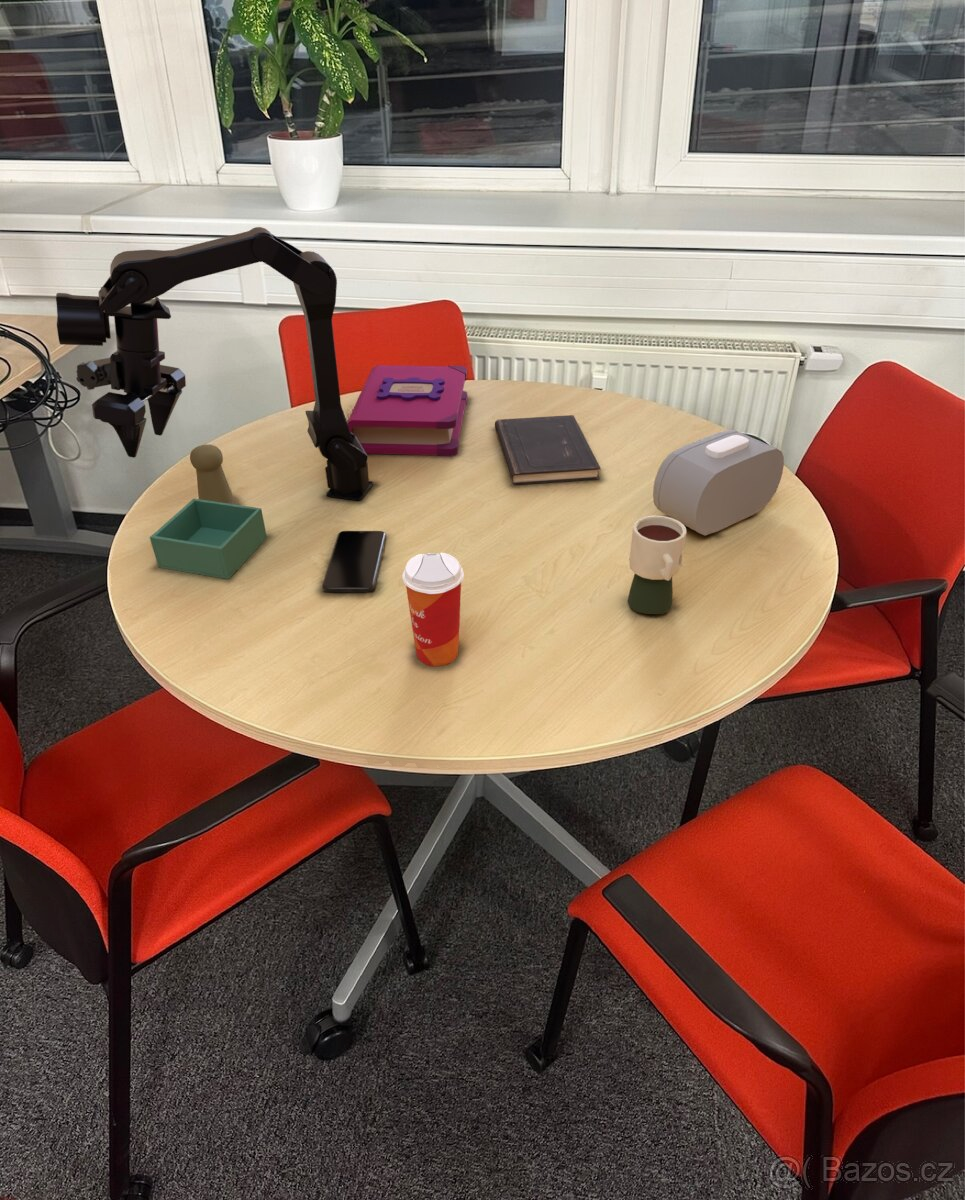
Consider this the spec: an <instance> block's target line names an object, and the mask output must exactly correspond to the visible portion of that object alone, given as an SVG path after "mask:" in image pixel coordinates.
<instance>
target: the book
mask: <svg viewBox="0 0 965 1200" xmlns="http://www.w3.org/2000/svg"><path fill="white" fill-rule="evenodd" d="M467 377H468V367H467V366H464V365H444V366H443V365H391V364H389V365H387V364H385V365H384V364H383V365H381V364H377V365H375V366H373V367H372V369H371V370H370V372H369V374H368V375H367V378H366V381H365V382H364V385H363V387H362V389H361V391H360V393H359V395H358V398H357V400H356V401H355V404H354V405H353V409H352V411H351V412H350V415H349V417H348V419H347V423H348V426H349V429H350V432H351V433H352V434H354V435H355V436H356V437H357V439H358V441H359V442H360V444H361V446H362V447H363V449H364V451H365V452H366V454H367V455H369V454H371V455H372V454H373V455H411V456H413V455H414V456H415V455H416V456H417V455H419V456H420V455H421V456H437V457H453V456H456V455H458V452H459V447H460V446H459V441H460V437H461V430H462V426H463V421H464V416H465V410H466V406H467V405H468V400H469V399H468V392H467V391H465V390H464V388H465V383H466V381H467Z"/></svg>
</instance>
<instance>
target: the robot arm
mask: <svg viewBox="0 0 965 1200" xmlns="http://www.w3.org/2000/svg"><path fill="white" fill-rule="evenodd" d="M257 263H264V264H265V265H267V266H269V267H271V268H272V269H273V270H274V271H276V272H278V273H279V274H280V275H282V276H284V278H286V279H288V280H289V281H290V282H292V283H293V286H294V290H295V292H296V296H297V299H298V301H299V304H300V307H301V311H302V313H303V315H304V321H305V330H306V337H307V344H308V353H309V361H310V368H311V369H310V370H311V377H312V383H313V384H312V385H313V392H314V405H313V410H305V411H304V413H305V415H306V418H307V421H308V428H307V430H306V431H307V434H308V436H309V438H310V440H311V442H312V443H313V446H314V448H316V449H318V450H319V452H320V455H321V456H322V457H324V459H327V460H326V466H325V468H324V471H325V477H326V485H327V488H328V489H329V490H328V491H327V492H326V493H325V494H326V497H329V498H336V499H342V500H349V501H357V502H359V501H362V500H363V499H364V497H365V496H366V495H367V493H369V491H370V490H371V488H372V487H373V486H374V481H372V480H370V477H369V466H368V460H369V455H368V454H366V452H365V451H364V449H363V447H362V446H361V444H360V442H359V441H358V439H357V437H356V436H355V435H354V434H352V433H351V432H350V429H349V426H348V423H347V421H348V419H347V418H346V415H345V412H344V409H343V406H342V401H341V393H340V383H339V376H338V375H339V374H338V365H337V356H336V345H335V337H334V335H335V334H334V327H333V316H334V312H335V308H336V302H337V289H338V278H337V275H336V272H335V271H334V269H333V268H332V266H331V265H330V264H329V262H327V261H326V259H325V258H324V257H323V256H322V255H320V253H317V252H315V251H311V250H307V251H302V250H301V249H299V248H297V247H295V246H294V245H293V244H291V243H289V242H287V241H286V240H283V239H281V238H280V237H278V236H276V235H275V234H273V233H271V231H269V230H268V229H267V228H265V227H261V226H256V227H254V228H253V227H252V228H251V229H249V230H247V231H244V232H240V233H234V234H232V235H228V236H223V237H219V238H215V239H212V240H207V241H204V242H200V243H196V244H195V243H194V244H191V245H187V246H184V247H179V248H176V249H169V250H163V249H162V250H161V249H160V250H159V249H138V250H125V251H122V252H119V253H117V254H116V255H115V256H114V257H113V259H112V260H111V263H110V267H109V275H110V276H109V277H108V278H107V280H106V281H105V282H104V284H103V285H102V286H101V287H100V289H99V290H98V296H96V295H80V294H79V295H78V294H71V293H67V292H57V293H56V294H55V302H56V303H55V304H56V315H57V317H56V330H57V337H58V338H57V339H58V342H59V345H60V346H61V345H63V346H97V347H103V346H104V343H105V344H106V343H107V340H111V339H112V336H111V334H112V333H111V325H110V317H113V319H114V330H115V340H116V351H115V352H113V353H111V355H110V357H106V358H100V359H96V360H89V361H87V362H84V361H83V362H80V363H79V364H77V365H76V377H75V378H76V381H77V383H79V385H81V386H82V387H84V388H85V387H86V389H87V390H89V391H91V390H94V389H95V388H100V387H105V386H110V388H111V390H115V391H123V394H122V393H117V392H111V391H107V393H105V394H104V395H102V396H100V397H99V398H97V399H96V400H95V401H93V403H92V404H91V410H92V417H93V418H94V420H98V421H99V420H100V421H101V422H103V423H106V424H107V423H108V424H109V425H110V426H111V427H112V428H113V430H114V431H115V432H116V434H117V437H118V438H119V440H120V442H121V444H122V447H123V449H124V451H125V453H126V455H127V456H128V457H129V458H132V459H133V458H136V457H137V455H138V452H139V449H140V445H141V441H142V437H143V435H144V431H145V427H146V423H147V417H145V415H146V409H147V408H146V404H145V403H144V402H146V401H147V403H148V408H149V414H150V419H151V420H150V421H151V424H152V428H153V433H154V435H156V436H163V434H164V431H165V429H166V427H167V425H168V423H169V420H170V418H171V415H172V413H173V411H174V409H175V406H176V405H177V402H178V401H179V398H180V396H181V395H182V393H183V390H182V389H184V388H185V387H186V386H187V385H186V384H187V383H186V381H187V380H186V374H185V373H184V372H183V371H182V369H181V368H180V367H174V366H170V365H163V364H161V362H162V361H164V360H165V359H166V353H165V351H161V350H160V343H159V327H158V326H159V325H158V319H159V320H170V319H171V318H172V314H171V310H170V307H168V306H167V305H166V304H164V303H163V302H162V301H161V299H160V296H163V295H164V294H166V293H167V292H169V291H170V290H172V289H173V288H174V287H176V286H178V285H181V284H182V283H185V282H188V281H191V280H196V279H199V278H204V277H206V276H211V275H215V274H219V273H222V272H226V271H230V270H234V269H237V268H242V267H245V266H249V265H253V264H257ZM151 300H152V301H151ZM149 301H150V302H149ZM124 393H125V394H124Z"/></svg>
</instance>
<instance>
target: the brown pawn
mask: <svg viewBox="0 0 965 1200" xmlns="http://www.w3.org/2000/svg"><path fill="white" fill-rule="evenodd" d="M189 460H190V464H191V465H192V467H193V468H194V469H195V473H196V483H197V493H198V494H197V495H198V499H201V500H208V501H215V502H221V503H228V504H235V505H237V504H236V500H235V497H234V495H233V492H232V490H231V487H230V485H229V482H228V479H227V477H226V473H225V471H224V469H223V466H222V464H223V462H224V456H223V452H222V450H221V449H220V448H219V447H218V446H217V445H214V444H200V445H198V446H196V447H194V448H193V449H192V450H191V451H190V454H189Z"/></svg>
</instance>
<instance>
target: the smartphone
mask: <svg viewBox="0 0 965 1200" xmlns="http://www.w3.org/2000/svg"><path fill="white" fill-rule="evenodd" d="M386 539H387V533H386V532H384V531H382V530H342V531H340V532H339V533H337V536H336V539H335V542H334V546H333V547H332V548H333V549H332V552H331V556H330V559H329V562H328V565H327V568H326V571H325V575H324V578H323V582H322V585H321V587H322V590H323V591H325V592H328V593H329V592H331V593H335V592H336V593H369V592H372V591H374V590H375V588H376V584H377V580H378V575H379V571H380V567H381V562H382V557H383V553H384V549H385V543H386Z"/></svg>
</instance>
